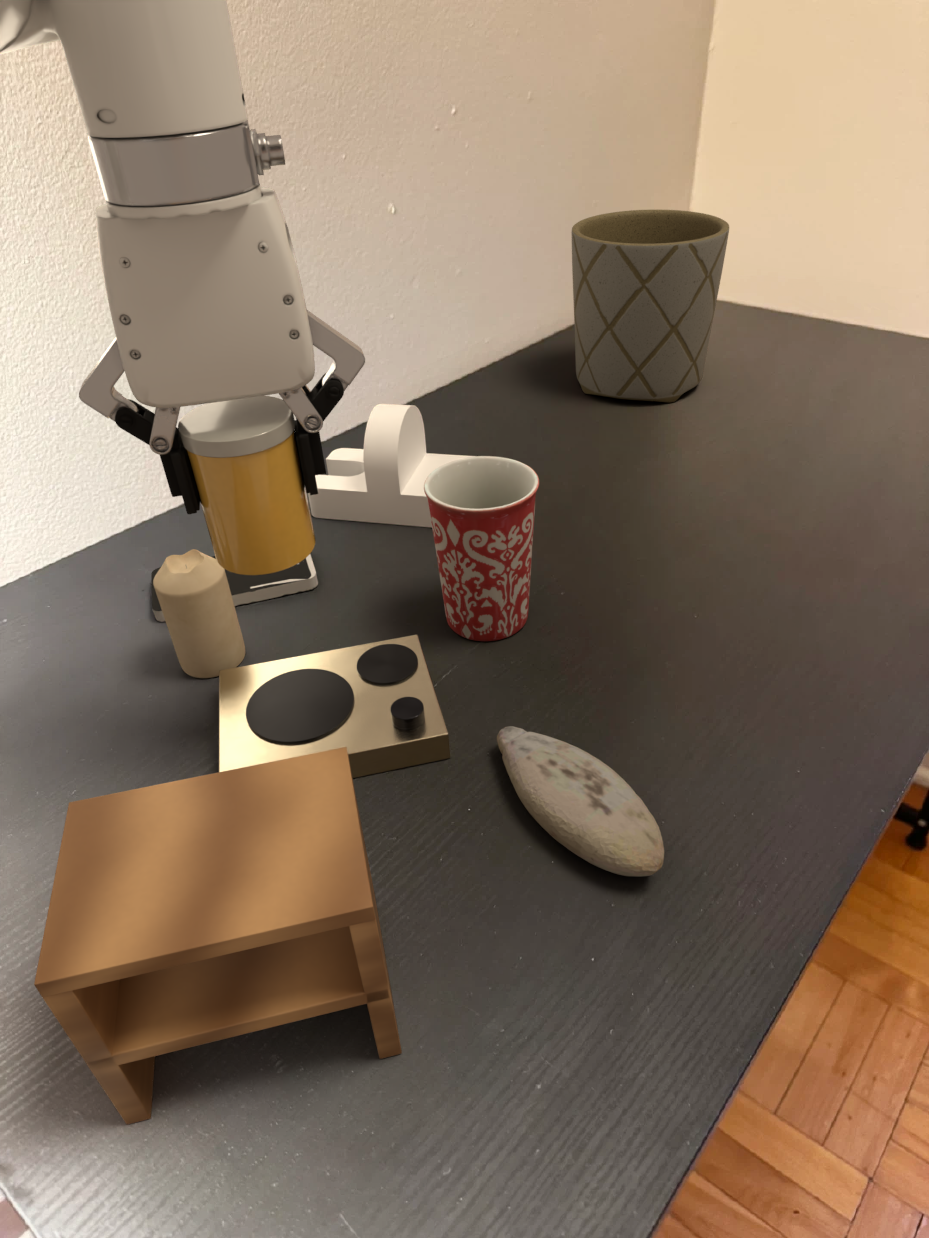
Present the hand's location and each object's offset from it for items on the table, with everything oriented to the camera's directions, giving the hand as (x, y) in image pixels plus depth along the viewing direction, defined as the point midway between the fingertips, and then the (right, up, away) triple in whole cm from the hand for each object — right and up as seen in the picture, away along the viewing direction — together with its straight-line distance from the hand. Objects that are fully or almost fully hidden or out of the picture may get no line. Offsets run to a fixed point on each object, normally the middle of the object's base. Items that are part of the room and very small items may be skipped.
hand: (252, 492), depth 52 cm
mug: (+16, -7, +24) cm, 29 cm away
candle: (-8, -11, +20) cm, 24 cm away
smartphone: (-9, -5, +29) cm, 31 cm away
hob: (+3, -16, +13) cm, 20 cm away
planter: (+37, +25, +64) cm, 78 cm away
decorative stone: (+20, -21, +5) cm, 30 cm away
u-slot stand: (+6, +5, +40) cm, 41 cm away
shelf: (+2, -29, -5) cm, 30 cm away
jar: (0, -3, +2) cm, 4 cm away
